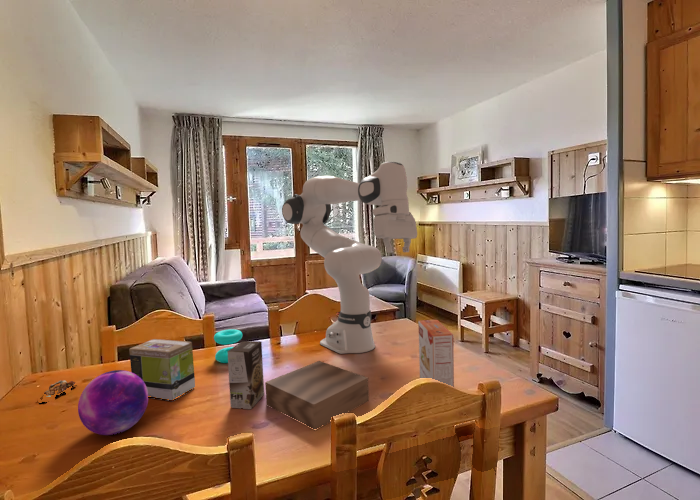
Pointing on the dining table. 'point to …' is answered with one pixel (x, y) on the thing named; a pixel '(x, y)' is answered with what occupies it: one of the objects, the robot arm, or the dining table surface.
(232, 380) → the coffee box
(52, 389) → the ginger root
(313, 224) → the robot arm
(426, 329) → the cracker box
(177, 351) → the tea box
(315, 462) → the dining table surface
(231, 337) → the donuts
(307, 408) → the walnut block
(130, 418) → the decorative orb
